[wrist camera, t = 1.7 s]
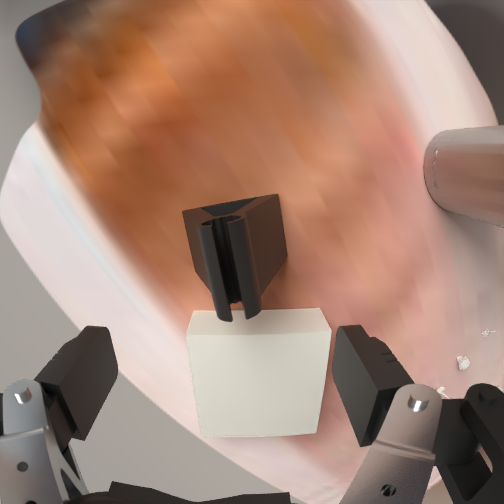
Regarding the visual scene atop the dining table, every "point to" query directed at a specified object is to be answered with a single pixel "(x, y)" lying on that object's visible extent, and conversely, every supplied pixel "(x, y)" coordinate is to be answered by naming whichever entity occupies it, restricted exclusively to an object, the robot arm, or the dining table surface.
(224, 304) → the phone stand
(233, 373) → the cream block
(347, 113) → the dining table surface
